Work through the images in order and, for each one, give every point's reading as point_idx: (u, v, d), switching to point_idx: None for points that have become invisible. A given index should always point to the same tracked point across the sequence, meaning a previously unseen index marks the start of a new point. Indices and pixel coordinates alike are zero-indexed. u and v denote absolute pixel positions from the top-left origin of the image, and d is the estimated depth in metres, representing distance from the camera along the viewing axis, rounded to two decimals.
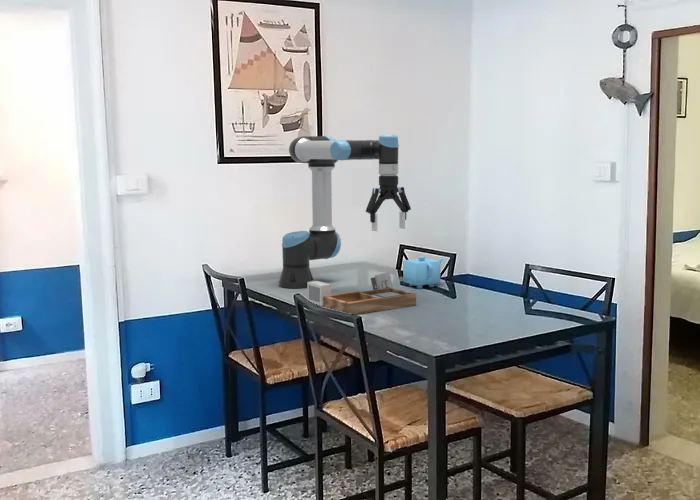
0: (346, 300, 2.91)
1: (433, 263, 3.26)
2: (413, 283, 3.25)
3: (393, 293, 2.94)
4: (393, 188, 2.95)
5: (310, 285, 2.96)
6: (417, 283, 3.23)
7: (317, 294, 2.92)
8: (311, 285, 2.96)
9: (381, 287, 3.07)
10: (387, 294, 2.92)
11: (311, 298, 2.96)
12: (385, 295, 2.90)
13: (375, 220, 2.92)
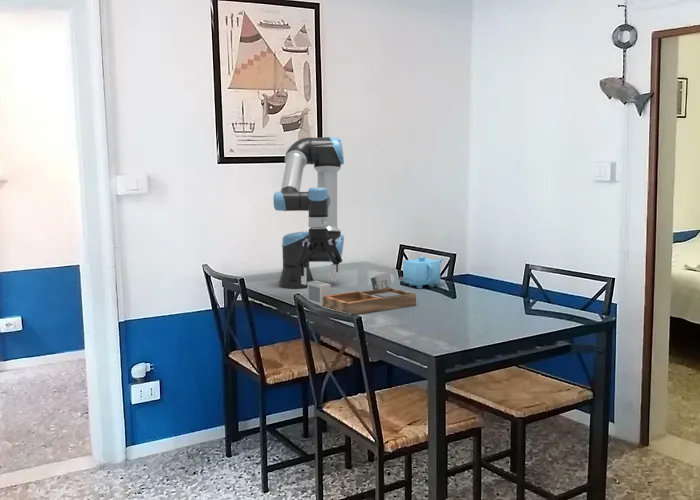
0: (346, 300, 2.91)
1: (433, 263, 3.26)
2: (413, 283, 3.25)
3: (393, 293, 2.94)
4: (323, 241, 2.93)
5: (310, 285, 2.96)
6: (417, 283, 3.23)
7: (317, 294, 2.92)
8: (311, 285, 2.96)
9: (381, 287, 3.07)
10: (387, 294, 2.92)
11: (311, 298, 2.96)
12: (385, 295, 2.90)
13: (304, 273, 2.90)
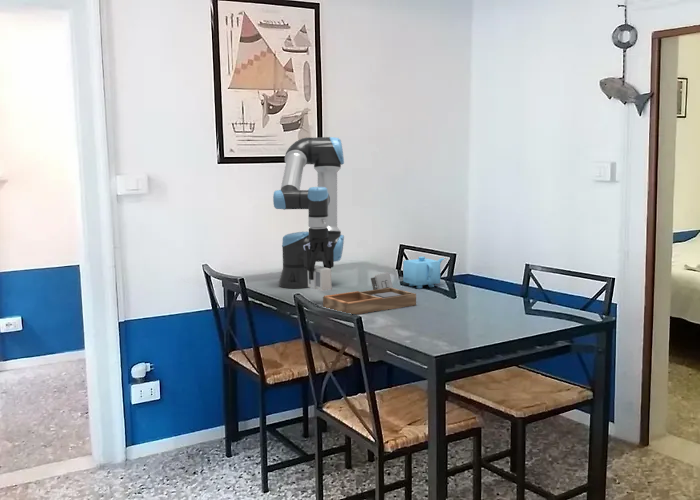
0: (346, 300, 2.91)
1: (433, 263, 3.26)
2: (413, 283, 3.25)
3: (393, 293, 2.94)
4: (324, 239, 2.93)
5: None
6: (417, 283, 3.23)
7: (317, 279, 2.92)
8: None
9: (381, 287, 3.07)
10: (387, 294, 2.92)
11: None
12: (385, 295, 2.90)
13: (314, 277, 2.93)
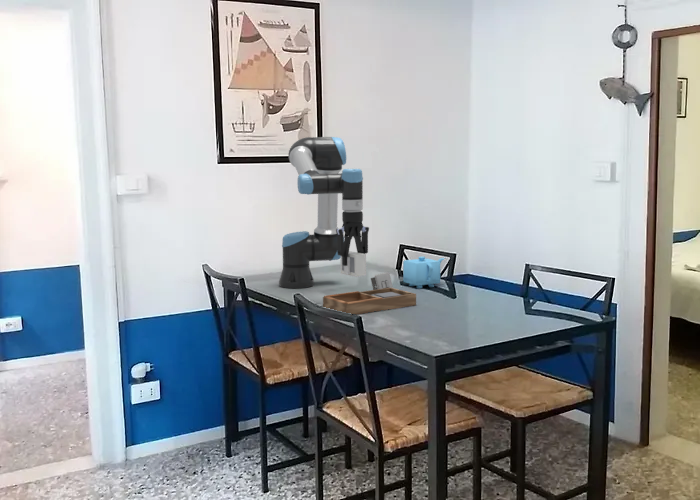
0: (346, 300, 2.91)
1: (433, 263, 3.26)
2: (413, 283, 3.25)
3: (393, 293, 2.94)
4: (358, 223, 2.81)
5: None
6: (417, 283, 3.23)
7: (351, 264, 2.79)
8: None
9: (381, 287, 3.07)
10: (387, 294, 2.92)
11: None
12: (385, 295, 2.90)
13: (347, 263, 2.80)
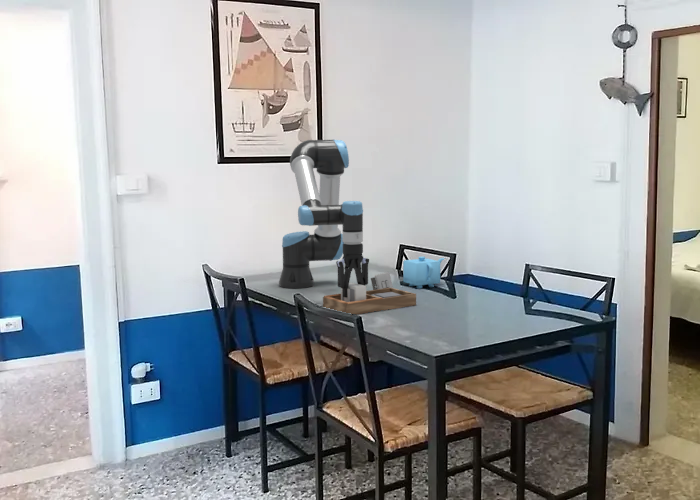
0: None
1: (433, 263, 3.26)
2: (413, 283, 3.25)
3: (393, 293, 2.94)
4: (358, 255, 2.82)
5: None
6: (417, 283, 3.23)
7: (352, 296, 2.81)
8: None
9: (381, 287, 3.07)
10: (387, 294, 2.92)
11: None
12: (385, 295, 2.90)
13: (348, 295, 2.81)
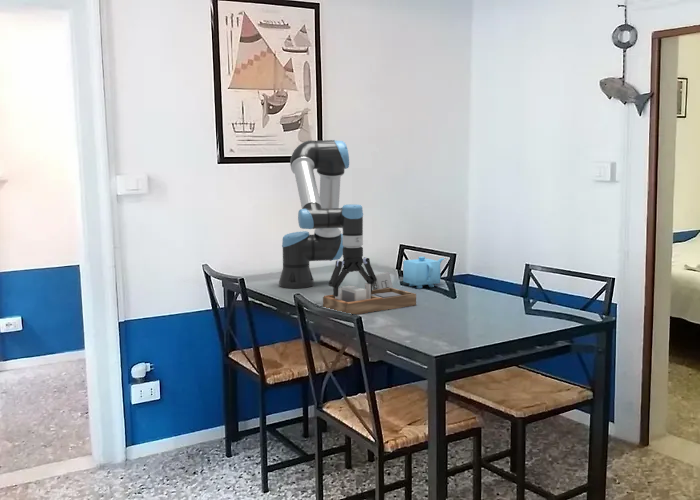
0: None
1: (433, 263, 3.26)
2: (413, 283, 3.25)
3: (394, 293, 2.94)
4: (357, 260, 2.82)
5: (344, 290, 2.85)
6: (417, 283, 3.23)
7: (352, 299, 2.81)
8: (345, 290, 2.84)
9: (381, 287, 3.07)
10: (387, 294, 2.92)
11: None
12: (384, 295, 2.90)
13: (338, 294, 2.79)
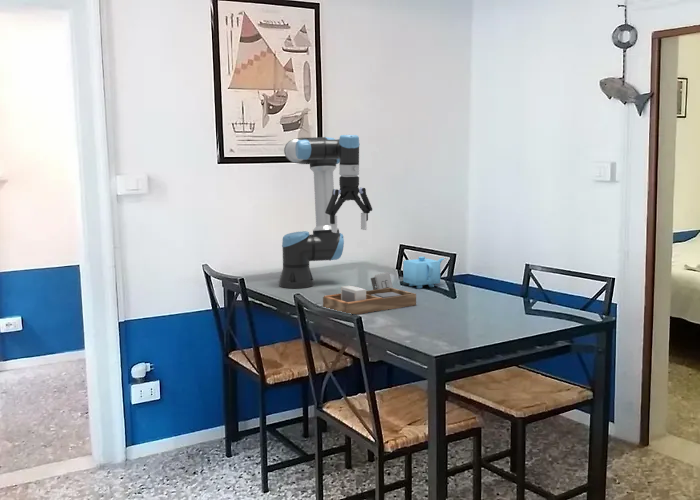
0: None
1: (433, 263, 3.26)
2: (413, 283, 3.25)
3: (394, 293, 2.94)
4: (354, 189, 2.91)
5: (344, 290, 2.85)
6: (417, 283, 3.23)
7: (352, 299, 2.81)
8: (345, 290, 2.84)
9: (381, 287, 3.07)
10: (387, 294, 2.92)
11: None
12: (384, 295, 2.90)
13: (335, 222, 2.88)
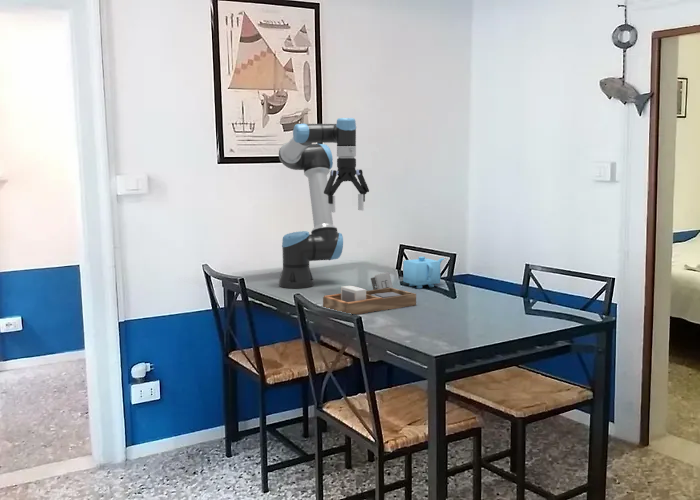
0: None
1: (433, 263, 3.26)
2: (413, 283, 3.25)
3: (394, 293, 2.94)
4: (351, 170, 3.02)
5: (344, 290, 2.85)
6: (417, 283, 3.23)
7: (352, 299, 2.81)
8: (345, 290, 2.84)
9: (381, 287, 3.07)
10: (387, 294, 2.92)
11: None
12: (384, 295, 2.90)
13: (333, 201, 2.98)
